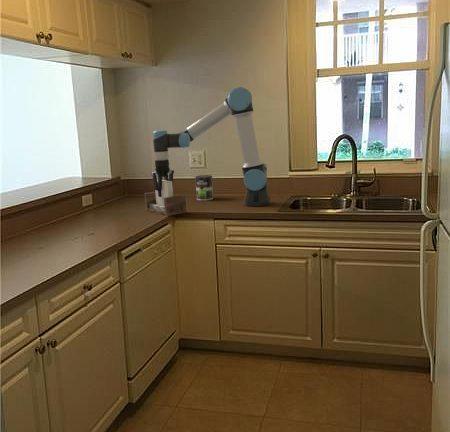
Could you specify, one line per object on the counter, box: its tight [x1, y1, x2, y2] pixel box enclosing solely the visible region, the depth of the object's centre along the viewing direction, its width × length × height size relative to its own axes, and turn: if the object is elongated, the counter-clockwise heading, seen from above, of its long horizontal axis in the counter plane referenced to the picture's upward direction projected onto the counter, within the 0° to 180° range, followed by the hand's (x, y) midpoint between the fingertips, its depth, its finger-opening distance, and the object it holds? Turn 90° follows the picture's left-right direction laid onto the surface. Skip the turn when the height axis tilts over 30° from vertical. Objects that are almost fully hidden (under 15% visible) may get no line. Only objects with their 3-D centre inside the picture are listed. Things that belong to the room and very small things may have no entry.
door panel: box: [154, 178, 174, 206], centre depth 288 cm, size 14×3×14 cm, turn 36°
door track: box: [143, 191, 187, 217], centre depth 289 cm, size 24×12×10 cm, turn 36°
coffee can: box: [194, 174, 214, 201], centre depth 320 cm, size 10×10×14 cm
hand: (164, 201), depth 289 cm, fingers closed on door panel, 3 cm apart
